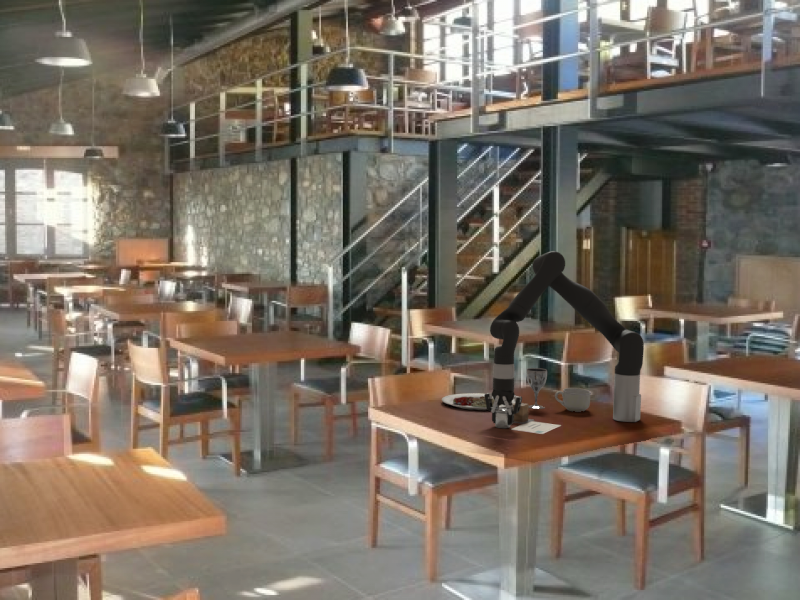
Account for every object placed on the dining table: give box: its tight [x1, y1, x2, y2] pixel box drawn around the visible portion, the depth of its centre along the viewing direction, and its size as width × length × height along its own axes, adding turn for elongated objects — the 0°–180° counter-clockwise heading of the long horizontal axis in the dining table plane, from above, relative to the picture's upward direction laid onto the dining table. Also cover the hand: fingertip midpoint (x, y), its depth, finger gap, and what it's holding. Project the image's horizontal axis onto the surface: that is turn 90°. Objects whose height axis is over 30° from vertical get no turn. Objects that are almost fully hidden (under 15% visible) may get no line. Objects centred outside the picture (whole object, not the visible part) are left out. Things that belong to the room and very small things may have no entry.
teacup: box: [554, 387, 592, 413], centre depth 355 cm, size 14×11×8 cm
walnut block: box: [513, 402, 530, 422], centre depth 332 cm, size 5×5×6 cm
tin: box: [494, 408, 511, 429], centre depth 320 cm, size 5×5×6 cm
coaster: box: [513, 418, 535, 425], centre depth 332 cm, size 9×9×1 cm
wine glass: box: [526, 367, 548, 410], centre depth 359 cm, size 8×8×15 cm
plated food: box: [441, 392, 515, 411], centre depth 364 cm, size 30×30×3 cm
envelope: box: [510, 420, 562, 435], centre depth 321 cm, size 12×17×1 cm
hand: (502, 423), depth 320 cm, fingers closed on tin, 5 cm apart
